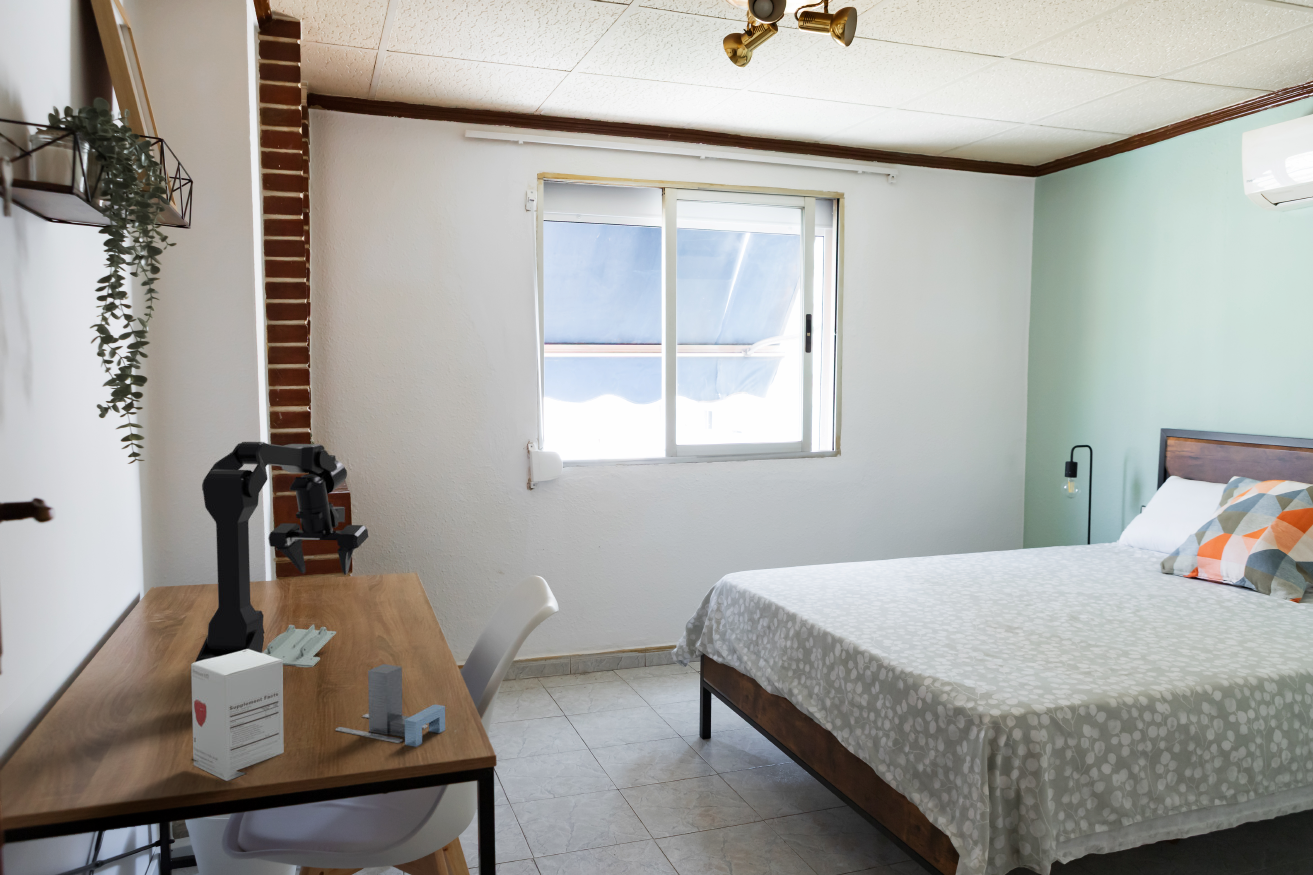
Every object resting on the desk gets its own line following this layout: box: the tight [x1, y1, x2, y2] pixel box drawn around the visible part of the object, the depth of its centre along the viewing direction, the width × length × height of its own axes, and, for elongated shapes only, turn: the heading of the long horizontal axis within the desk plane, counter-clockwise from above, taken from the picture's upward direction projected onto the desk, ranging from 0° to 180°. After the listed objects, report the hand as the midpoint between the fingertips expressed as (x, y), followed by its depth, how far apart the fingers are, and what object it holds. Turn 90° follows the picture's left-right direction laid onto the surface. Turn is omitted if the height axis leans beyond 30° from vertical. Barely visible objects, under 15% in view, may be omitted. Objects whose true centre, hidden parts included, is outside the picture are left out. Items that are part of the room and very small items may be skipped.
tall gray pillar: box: [367, 663, 410, 738], centre depth 135 cm, size 8×4×10 cm, turn 67°
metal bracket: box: [262, 624, 337, 668], centre depth 177 cm, size 14×6×15 cm
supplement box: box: [190, 649, 284, 782], centre depth 126 cm, size 9×9×15 cm
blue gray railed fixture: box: [335, 703, 446, 748], centre depth 136 cm, size 16×8×5 cm, turn 67°
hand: (324, 573), depth 182 cm, fingers open, 9 cm apart
